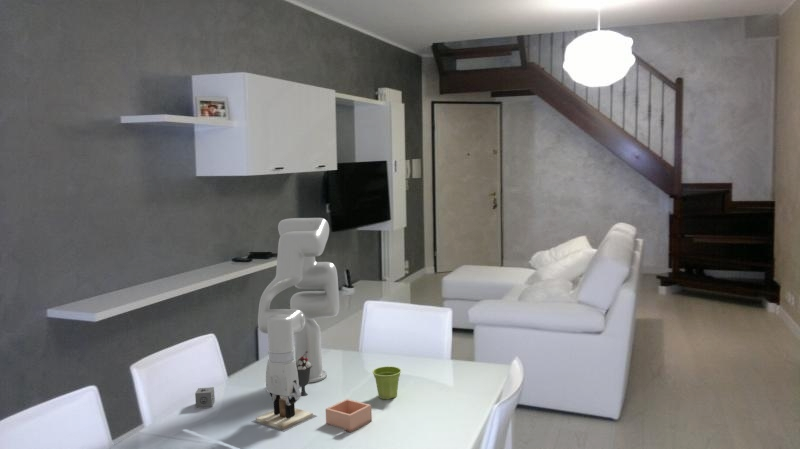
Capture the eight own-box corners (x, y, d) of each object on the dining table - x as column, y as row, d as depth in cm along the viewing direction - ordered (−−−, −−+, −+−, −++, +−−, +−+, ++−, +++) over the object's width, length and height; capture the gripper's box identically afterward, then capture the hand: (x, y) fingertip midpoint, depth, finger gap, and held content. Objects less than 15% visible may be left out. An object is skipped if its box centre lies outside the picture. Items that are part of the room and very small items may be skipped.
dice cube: (199, 402, 216) (198, 388, 215) (214, 401, 216) (213, 387, 216) (196, 408, 211) (195, 393, 210) (211, 407, 211) (211, 392, 211)
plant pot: (398, 402, 211) (398, 375, 210) (370, 400, 213) (369, 374, 212) (404, 391, 220) (403, 366, 219) (377, 390, 222) (376, 365, 221)
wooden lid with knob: (256, 421, 197) (255, 401, 196) (285, 408, 207) (284, 389, 206) (283, 429, 190) (282, 409, 189) (312, 416, 199) (312, 397, 199)
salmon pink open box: (326, 425, 194) (325, 408, 193) (347, 414, 201) (347, 398, 201) (350, 432, 188) (350, 415, 188) (371, 421, 196) (371, 405, 195)
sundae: (317, 393, 221) (315, 350, 219) (307, 400, 214) (305, 356, 213) (299, 392, 223) (297, 349, 221) (289, 398, 216) (287, 354, 215)
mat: (251, 423, 197) (251, 421, 197) (285, 408, 208) (285, 406, 208) (283, 433, 188) (283, 431, 188) (317, 417, 200) (317, 415, 200)
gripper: (253, 355, 198) (256, 413, 200) (292, 363, 188) (295, 425, 190) (271, 349, 204) (274, 405, 206) (310, 357, 194) (313, 416, 196)
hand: (284, 414), depth 198 cm, fingers open, 4 cm apart
